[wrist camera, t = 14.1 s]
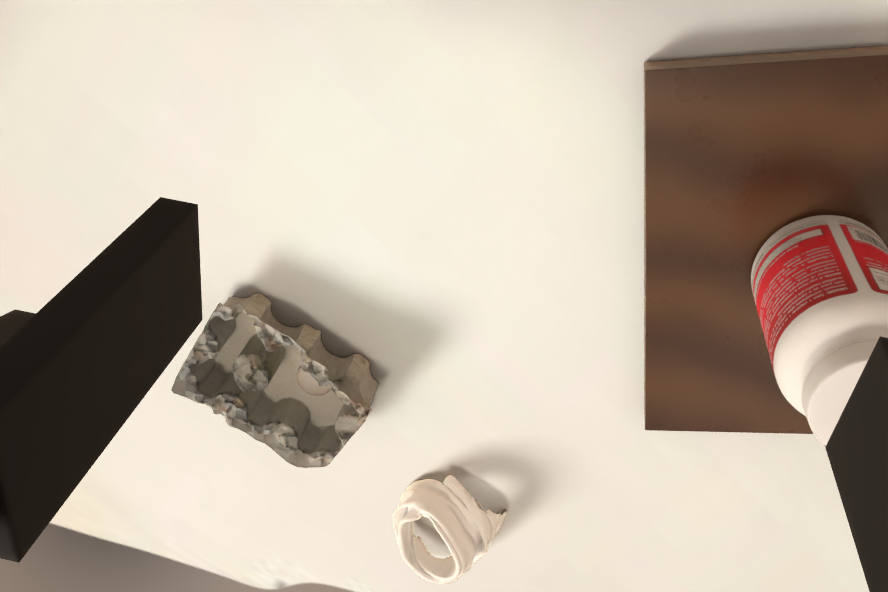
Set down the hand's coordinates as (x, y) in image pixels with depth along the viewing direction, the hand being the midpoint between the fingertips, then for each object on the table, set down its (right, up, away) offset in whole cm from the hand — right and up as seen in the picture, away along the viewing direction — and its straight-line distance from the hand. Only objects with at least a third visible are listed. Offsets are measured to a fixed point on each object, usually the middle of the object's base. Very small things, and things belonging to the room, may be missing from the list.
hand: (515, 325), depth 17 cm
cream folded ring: (-1, -13, +39) cm, 41 cm away
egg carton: (-11, -4, +35) cm, 37 cm away
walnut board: (+17, +3, +25) cm, 30 cm away
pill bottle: (+16, +2, +24) cm, 29 cm away
